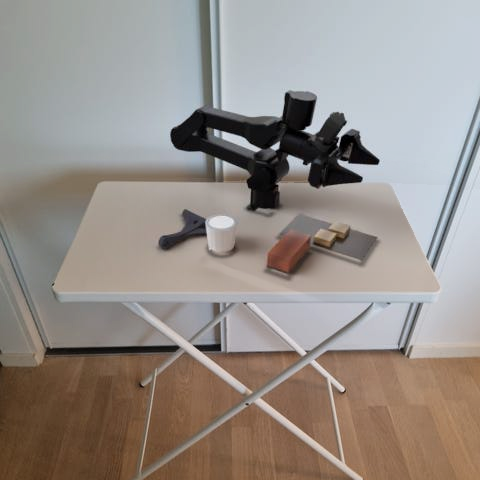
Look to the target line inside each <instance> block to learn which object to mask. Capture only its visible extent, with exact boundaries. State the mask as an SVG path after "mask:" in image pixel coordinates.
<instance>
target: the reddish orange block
mask: <svg viewBox="0 0 480 480" xmlns="http://www.w3.org/2000/svg"><path fill="white" fill-rule="evenodd" d="M310 241H311V235H308V234H305V233H302V232H299V231H295V230H292V229H290V230H289V231H288V232H287V234H286V235H285V236H284V235H283V236H282V237H281V239H280V240H278V242H277V243H276V244H275V245H274V246H273V247H272V248H271V249H270V250H269V251H267V258H266V267H267V268H269V269H272V270H274V271H278V272H280V273H283V274H286V275H289V274H290V273H291V271H292V270H293V269H294V268H295V267H296V266H297V264H298V263H299V262H300V261H301V260H302V258H303V257H304V256H305V255H306V254H307V253H308V252H309V250H310V248H311V244H310Z"/></svg>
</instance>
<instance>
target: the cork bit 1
mask: <svg viewBox="0 0 480 480" xmlns="http://www.w3.org/2000/svg"><path fill="white" fill-rule="evenodd" d="M336 236H337V233H334V232H331V231H327V230H324V229H320V230H319V231H318V232H317V233H316V235H315V236H314V239H313V242H315V243H318V244H321V245H324V246H328V247H330V246H331V244H332V243H333V242H334V241H335V239H336Z"/></svg>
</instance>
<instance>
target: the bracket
mask: <svg viewBox="0 0 480 480" xmlns="http://www.w3.org/2000/svg"><path fill="white" fill-rule="evenodd" d="M181 213H182V217H183V219H184V221H185V225H184V227H183V228H182V229H181V230H180V231H177V232H174V233H170V234H165V235H161V236H160V238H159V239H158V242H157V245H158V246H159V247H160V248H162V249H164V250H165V249H169V248H170V247H172V246H174V245H176V244H178V243H179V242H182V241H183V240H185V239H187V238H189V237H191V236H194V235H207V231H206V224H205V221H206V219H207V218H204V217H202V216H201V215H198V214H196V213H195V212H192V211H190V210H189V209H186V208H185V209H183V210H182V212H181Z"/></svg>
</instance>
